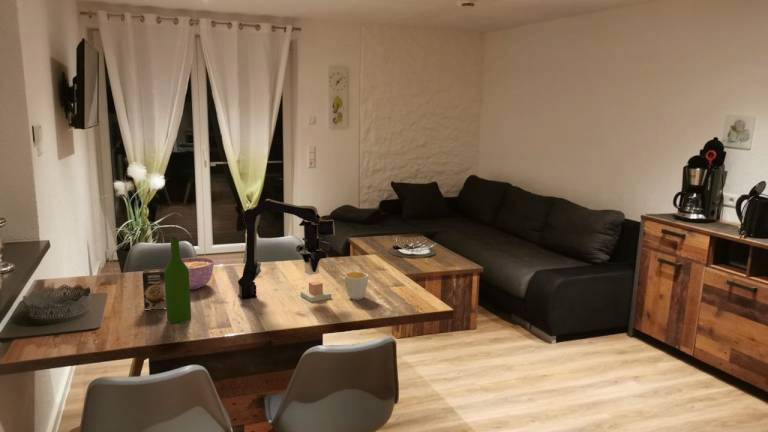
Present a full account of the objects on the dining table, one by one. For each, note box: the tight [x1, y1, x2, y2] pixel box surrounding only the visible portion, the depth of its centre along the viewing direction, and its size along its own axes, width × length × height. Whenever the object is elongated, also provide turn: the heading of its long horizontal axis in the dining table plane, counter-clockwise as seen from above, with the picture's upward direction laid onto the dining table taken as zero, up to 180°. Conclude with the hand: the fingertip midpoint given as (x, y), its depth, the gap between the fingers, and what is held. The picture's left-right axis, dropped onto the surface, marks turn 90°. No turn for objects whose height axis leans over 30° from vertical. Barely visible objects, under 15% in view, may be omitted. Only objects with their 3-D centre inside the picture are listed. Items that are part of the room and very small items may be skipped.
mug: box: [344, 271, 369, 301], centre depth 258 cm, size 14×10×10 cm
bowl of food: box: [181, 257, 215, 290], centre depth 270 cm, size 20×20×12 cm
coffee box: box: [142, 267, 166, 310], centre depth 241 cm, size 9×6×16 cm
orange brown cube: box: [308, 280, 324, 295], centre depth 258 cm, size 4×4×4 cm
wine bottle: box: [164, 237, 192, 324], centre depth 227 cm, size 9×9×32 cm
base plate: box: [300, 289, 332, 303], centre depth 258 cm, size 10×10×2 cm
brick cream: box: [304, 262, 320, 276], centre depth 255 cm, size 4×4×4 cm
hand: (311, 270), depth 255 cm, fingers closed on brick cream, 4 cm apart
